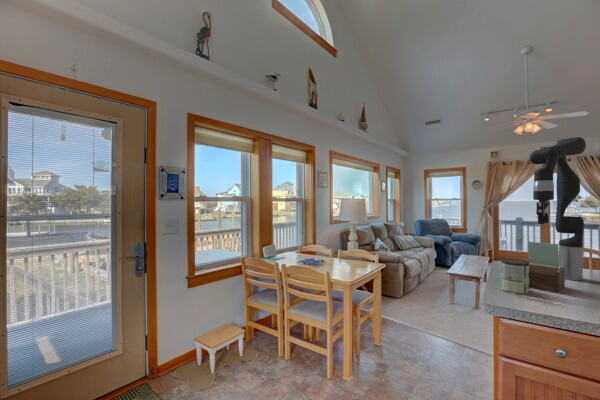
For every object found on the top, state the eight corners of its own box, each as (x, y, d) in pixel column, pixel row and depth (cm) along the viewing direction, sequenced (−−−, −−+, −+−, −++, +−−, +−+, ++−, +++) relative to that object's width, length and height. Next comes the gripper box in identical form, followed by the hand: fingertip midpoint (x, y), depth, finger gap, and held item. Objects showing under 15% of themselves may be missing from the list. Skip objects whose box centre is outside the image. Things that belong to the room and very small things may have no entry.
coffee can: (498, 286, 133) (498, 257, 133) (525, 289, 129) (525, 259, 129) (503, 293, 124) (504, 262, 124) (532, 296, 120) (533, 264, 120)
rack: (524, 281, 142) (524, 262, 142) (564, 289, 130) (564, 267, 130) (516, 286, 133) (516, 266, 133) (558, 295, 122) (558, 272, 121)
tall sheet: (528, 281, 139) (528, 241, 139) (558, 286, 131) (558, 244, 131) (528, 281, 139) (528, 241, 138) (557, 287, 130) (558, 244, 130)
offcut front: (525, 283, 136) (525, 262, 136) (555, 289, 127) (555, 267, 127) (524, 283, 135) (525, 263, 135) (555, 289, 126) (555, 267, 126)
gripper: (537, 190, 142) (536, 222, 142) (529, 190, 133) (529, 223, 133) (556, 190, 136) (556, 223, 136) (550, 189, 127) (550, 224, 127)
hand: (543, 223), depth 134 cm, fingers open, 8 cm apart
